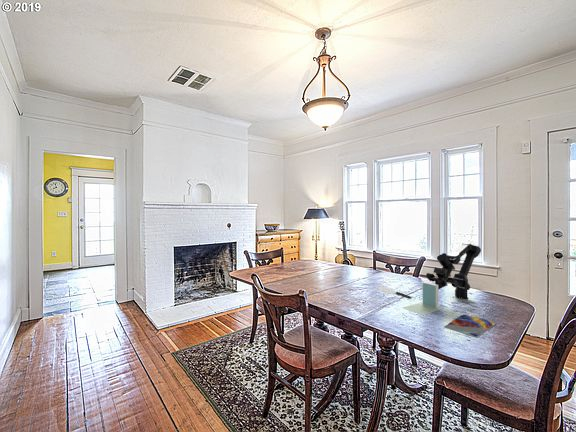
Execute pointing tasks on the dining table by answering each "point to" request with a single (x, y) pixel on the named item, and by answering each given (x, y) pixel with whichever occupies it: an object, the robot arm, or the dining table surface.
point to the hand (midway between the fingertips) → (435, 290)
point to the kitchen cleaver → (385, 289)
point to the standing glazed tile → (430, 294)
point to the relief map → (470, 325)
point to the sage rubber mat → (421, 308)
